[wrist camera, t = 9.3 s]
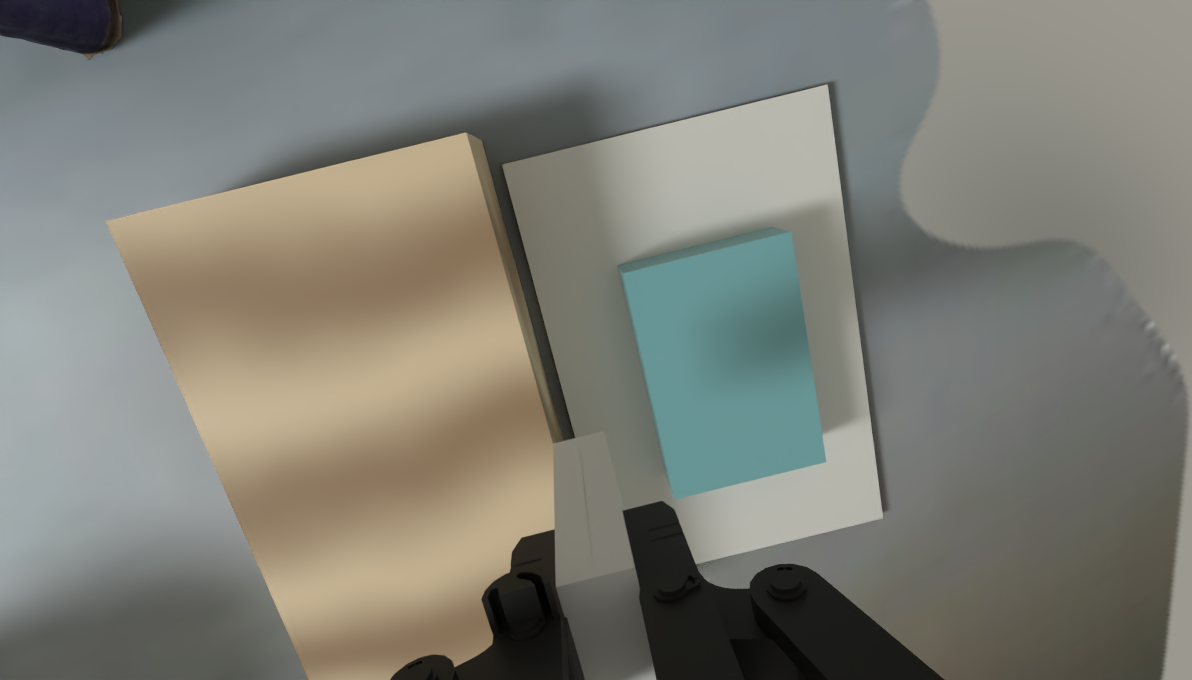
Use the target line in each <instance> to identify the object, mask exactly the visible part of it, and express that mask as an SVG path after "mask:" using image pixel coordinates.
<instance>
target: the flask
mask: <svg viewBox="0 0 1192 680" xmlns="http://www.w3.org/2000/svg"><path fill="white" fill-rule="evenodd" d="M121 24H122V16H121V14H120V12H119V7H118V0H0V35H1V36H5V37H11V38H19V39H24V40H27V41H30V42H34V43H38V44H42V45H47V46H52V47H56V48H59V49H62V50H68V51H73V52H77V53H81V54H84V55H85V56H86V57H87V58H88V59H89V60H90V59H91V57H92V55H94V54H98V53H102V54H103V53H104V52H105V51H108V50H111V49H113V48H114V46H115V44H116V42H117V41H118V40H119V39H120V38H121V36H122V33H121Z"/></svg>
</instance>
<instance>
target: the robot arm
mask: <svg viewBox="0 0 1192 680" xmlns="http://www.w3.org/2000/svg"><path fill="white" fill-rule="evenodd" d="M553 464H554V519H555V529H554V530H550V531H546V532H542V533H538V534H534V535H530V536H526V537H522V538H521V539H520V541H519V542H518V544H517V545H516V547H515V548H514V550H513V551H512V556H511V569H510V572H509V573H507V574H504V575H503V576H501V577H500V578H498V579H496V580H495V581H493V582H492V583H491V585H490V586H489V587H488V588H487V589H486V590H485V592H484V594H483V596H482V599H481V600H482V603H483V606H484V609H485V612H486V615H487V619H488V622H489V625H490V628H491V631H492V634H493V642H492V645H491V646H490V647H488V648H487V649H486V650H485V651H484V652H482V653H480V654H479V655H477V656H475V657H474V658H472V659H470V660H468V661H466V662H464V663H462V664H460V665H458V666H456V667H454V664H453V661H452V660H451V659H449V658H448V657H446V656H445V655H435V654H433V655H428V656H424V657H420V658H418V659H416V660H414V661H412V662H410V663H408V664H406V665H405V666H404V667H402V668H401V669H400V670H399V671H397V672H396V673H395V674H394V675H393V676H392V678H391V679H390V680H944V679H943V678H942V677H940V676H939V675H938V674H937V673H936V672H935V671H933V670H932V669H931V668H930V667H929V666H927V665H926V664H925V663H924V662H923V661H921V660H920V659H919V658H918V657H917V656H915V655H914V654H913V653H912V652H911V651H909V650H908V649H907V648H906V647H905V646H904V645H902V644H901V643H900V642H899V641H898V640H896V639H895V638H894V637H893V636H892V635H890V634H889V633H888V632H887V631H886V630H884V629H883V628H882V627H881V626H880V625H878V624H877V623H876V622H875V621H874V620H872V619H871V618H870V617H869V616H868V615H867V614H865V613H864V612H863V611H862V610H861V609H859V608H858V607H857V606H856V605H855V604H853V603H852V602H851V601H850V600H849V599H847V598H846V597H845V596H844V595H843V594H841V593H840V592H839V591H838V590H837V589H835V588H834V587H833V586H832V585H831V584H830V583H828V582H827V581H826V580H825V579H824V578H822V577H821V576H820V575H819V574H818V573H816V572H814V571H812V570H811V569H809V568H807V567H804V566H800V565H795V564H778V565H775V566H771V567H768V568H765V569H764V570H762V571H760V572H759V573H757V574H756V575H755V576H754V578H753V579H752V581H751V582H750V589H730V588H723V587H719V586H715V585H713V584H711V583H709V582H707V581H706V580H705V579H704V578H703V576H702V575H701V574H700V573H699V571H698V569H697V566H696V564H695V561H694V558H693V556H692V553H691V551H690V548H689V546H688V543H687V540H686V538H685V535H684V533H683V530H682V527H681V525H680V523H679V520H678V517H677V515H676V512H675V509H673V508H672V507H670V506H669V505H668V504H666V503H665V502H663V501H659V502H655V503H651V504H647V505H643V506H639V507H635V508H631V509H627V510H624V509H623V505H622V501H621V497H620V493H619V489H618V485H617V481H616V477H615V473H614V469H613V465H612V461H611V457H610V453H609V449H608V445H607V441H606V437H605V433H604V431H602V432H598V433H594V434H590V435H586V436H582V437H578V438H574V439H570V440H566V441H562V442H558V443H554V444H553Z"/></svg>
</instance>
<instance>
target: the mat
mask: <svg viewBox="0 0 1192 680" xmlns="http://www.w3.org/2000/svg"><path fill="white" fill-rule="evenodd" d="M502 166H503V170H504V174H505V178H506V181H507V185H508V189H509V193H510V196H511V200H512V204H513V208H514V211H515V215H516V219H517V223H518V226H519V230H520V234H521V237H522V241H523V245H524V249H525V252H526V256H527V260H528V264H529V267H530V271H531V275H532V279H533V282H534V286H535V290H536V294H537V297H538V301H539V305H540V309H541V312H542V316H543V320H544V323H545V327H546V331H547V335H548V338H549V342H550V346H551V350H552V353H553V357H554V361H555V365H556V368H557V372H558V376H559V380H560V383H561V387H562V391H563V395H564V398H565V402H566V406H567V410H568V413H569V417H570V421H571V424H572V428H573V432H574V436H575V438H578V437H582V436H586V435H590V434H594V433H598V432H602V431H604V433H605V437H606V441H607V445H608V449H609V453H610V457H611V461H612V465H613V469H614V473H615V477H616V481H617V485H618V489H619V493H620V497H621V501H622V505H623V509H624V510H627V509H631V508H635V507H639V506H643V505H647V504H651V503H655V502H659V501H663V502H665V503H666V504H668V505H669V506H670V507H672V508H673V509H675V512H676V515H677V517H678V520H679V523H680V525H681V527H682V530H683V533H684V535H685V538H686V540H687V543H688V546H689V548H690V551H691V553H692V556H693V558H694V561H695V564H699V563H703V562H707V561H711V560H715V559H719V558H723V557H727V556H731V555H736V554H740V553H744V552H748V551H752V550H756V549H760V548H764V547H768V546H772V545H776V544H780V543H784V542H788V541H792V540H796V539H800V538H805V537H809V536H813V535H817V534H821V533H825V532H829V531H833V530H837V529H841V528H845V527H849V526H853V525H857V524H861V523H865V522H869V521H874V520H878V519H882V518H883V513H882V506H881V498H880V490H879V482H878V474H877V467H876V459H875V451H874V443H873V435H872V427H871V420H870V412H869V404H868V396H867V388H866V381H865V373H864V365H863V357H862V349H861V341H860V334H859V326H858V318H857V310H856V302H855V294H854V287H853V279H852V271H851V263H850V255H849V248H848V240H847V232H846V224H845V216H844V208H843V201H842V193H841V185H840V177H839V169H838V162H837V154H836V146H835V138H834V130H833V122H832V115H831V107H830V99H829V91H828V84H827V85H823V86H819V87H815V88H811V89H807V90H803V91H799V92H795V93H791V94H787V95H783V96H779V97H774V98H770V99H766V100H762V101H758V102H754V103H750V104H746V105H742V106H738V107H734V108H730V109H726V110H722V111H718V112H714V113H709V114H705V115H701V116H697V117H693V118H689V119H685V120H681V121H677V122H673V123H669V124H665V125H661V126H657V127H653V128H649V129H645V130H640V131H636V132H632V133H628V134H624V135H620V136H616V137H612V138H608V139H604V140H600V141H596V142H592V143H588V144H584V145H580V146H575V147H571V148H567V149H563V150H559V151H555V152H551V153H547V154H543V155H539V156H535V157H531V158H527V159H523V160H519V161H515V162H511V163H506V164H502ZM770 227H774V228H778V229H782V230H787V231H791V233H792V239H793V246H794V253H795V259H796V266H797V272H798V279H799V285H800V292H801V298H802V305H803V312H804V318H805V325H806V331H807V338H808V344H809V351H810V357H811V364H812V371H813V377H814V384H815V390H816V397H817V403H818V410H819V416H820V423H821V430H822V436H823V443H824V449H825V456H826V462H825V463H821V464H817V465H813V466H809V467H805V468H800V469H796V470H792V471H788V472H784V473H780V474H776V475H772V476H768V477H764V478H760V479H756V480H752V481H748V482H744V483H740V484H736V485H732V486H728V487H724V488H720V489H716V490H712V491H708V492H703V493H699V494H695V495H691V496H687V497H683V498H679V499H674V497H673V494H672V491H671V488H670V486H669V483H668V480H667V478H666V474H665V470H664V466H663V461H662V457H661V453H660V448H659V444H658V440H657V435H656V431H655V427H654V422H653V418H652V414H651V409H650V405H649V401H648V396H647V392H646V388H645V383H644V379H643V374H642V370H641V366H640V361H639V357H638V353H637V348H636V344H635V340H634V335H633V331H632V327H631V322H630V318H629V314H628V309H627V305H626V301H625V296H624V292H623V288H622V283H621V279H620V275H619V270H618V266H617V265H620V264H625V263H629V262H633V261H637V260H641V259H645V258H649V257H653V256H657V255H661V254H665V253H669V252H673V251H677V250H681V249H685V248H689V247H693V246H697V245H701V244H705V243H709V242H713V241H717V240H721V239H726V238H730V237H734V236H738V235H742V234H746V233H750V232H754V231H758V230H762V229H766V228H770Z"/></svg>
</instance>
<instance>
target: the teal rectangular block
mask: <svg viewBox="0 0 1192 680" xmlns="http://www.w3.org/2000/svg"><path fill="white" fill-rule="evenodd" d="M617 266H618V270H619V275H620V279H621V283H622V288H623V292H624V296H625V301H626V305H627V309H628V314H629V318H630V322H631V327H632V331H633V335H634V340H635V344H636V348H637V353H638V357H639V361H640V366H641V370H642V374H643V379H644V383H645V388H646V392H647V396H648V401H649V405H650V409H651V414H652V418H653V422H654V427H655V431H656V435H657V440H658V444H659V448H660V453H661V457H662V461H663V466H664V470H665V474H666V478H667V480H668V483H669V486H670V488H671V491H672V494H673V497H674V499H679V498H683V497H687V496H691V495H695V494H699V493H703V492H708V491H712V490H716V489H720V488H724V487H728V486H732V485H736V484H740V483H744V482H748V481H752V480H756V479H760V478H764V477H768V476H772V475H776V474H780V473H784V472H788V471H792V470H796V469H800V468H805V467H809V466H813V465H817V464H821V463H825V462H826V456H825V449H824V443H823V436H822V430H821V423H820V416H819V410H818V403H817V397H816V390H815V384H814V377H813V371H812V364H811V357H810V351H809V344H808V338H807V331H806V325H805V318H804V312H803V305H802V298H801V292H800V285H799V279H798V272H797V266H796V259H795V253H794V246H793V239H792V233H791V231H787V230H782V229H778V228H774V227H770V228H766V229H762V230H758V231H754V232H750V233H746V234H742V235H738V236H734V237H730V238H726V239H721V240H717V241H713V242H709V243H705V244H701V245H697V246H693V247H689V248H685V249H681V250H677V251H673V252H669V253H665V254H661V255H657V256H653V257H649V258H645V259H641V260H637V261H633V262H629V263H625V264H620V265H617Z"/></svg>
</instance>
